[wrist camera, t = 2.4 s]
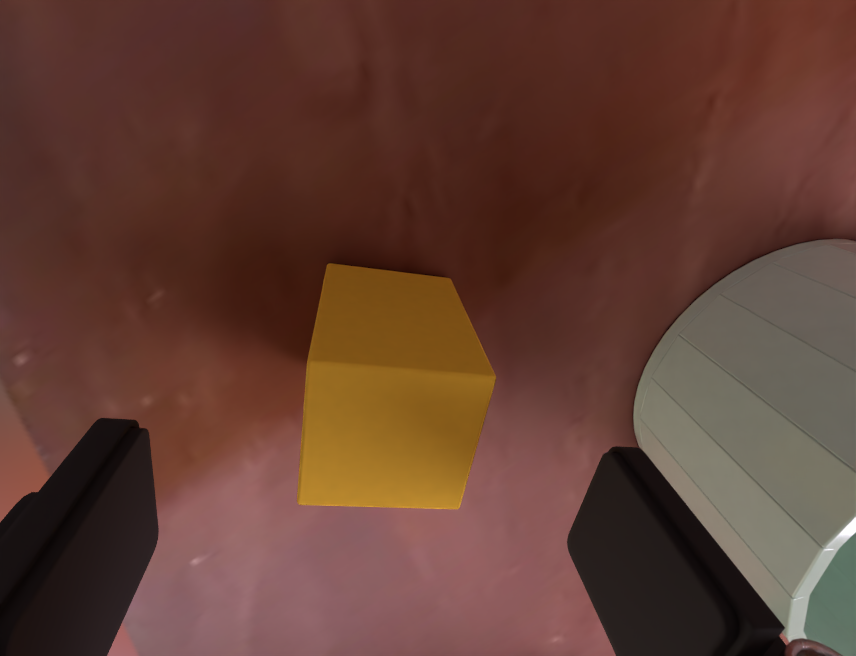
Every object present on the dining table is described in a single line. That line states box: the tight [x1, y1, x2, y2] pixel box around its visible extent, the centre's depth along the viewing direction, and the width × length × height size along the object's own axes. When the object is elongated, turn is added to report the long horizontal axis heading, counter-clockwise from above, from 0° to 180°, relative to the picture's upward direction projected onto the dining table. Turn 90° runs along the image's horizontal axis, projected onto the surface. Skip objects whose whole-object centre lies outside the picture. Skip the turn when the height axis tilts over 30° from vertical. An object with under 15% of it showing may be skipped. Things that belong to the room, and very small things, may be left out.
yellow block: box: [297, 263, 496, 509], centre depth 13 cm, size 4×4×6 cm
